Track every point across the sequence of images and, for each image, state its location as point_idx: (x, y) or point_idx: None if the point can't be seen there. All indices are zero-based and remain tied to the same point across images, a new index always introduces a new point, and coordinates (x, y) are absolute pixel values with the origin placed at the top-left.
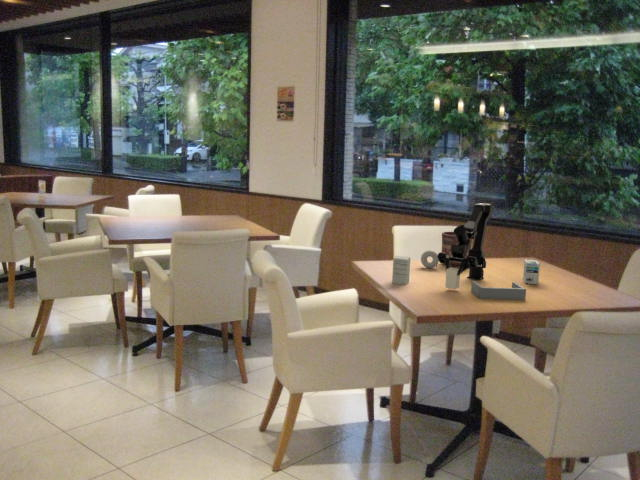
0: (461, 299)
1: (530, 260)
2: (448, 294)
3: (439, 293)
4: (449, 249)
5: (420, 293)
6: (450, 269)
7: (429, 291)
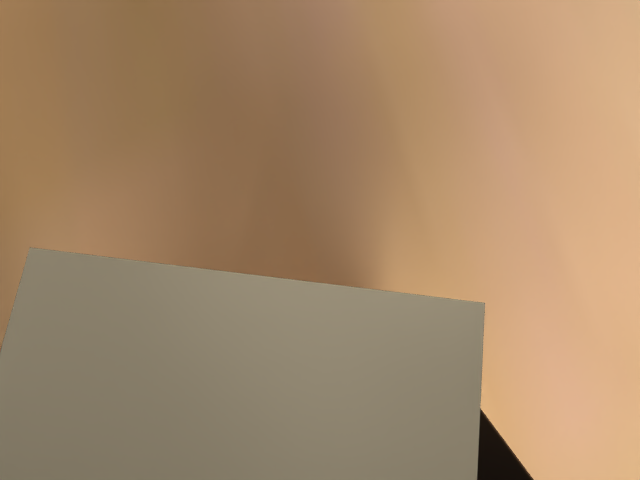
0: (81, 6)
1: None
2: (280, 153)
3: (404, 138)
4: None
5: (614, 3)
6: (309, 301)
7: (563, 168)
